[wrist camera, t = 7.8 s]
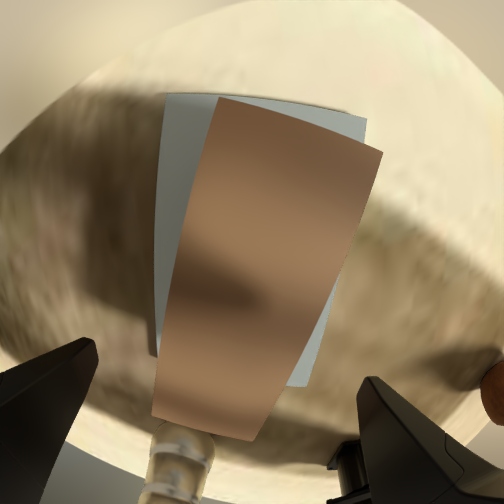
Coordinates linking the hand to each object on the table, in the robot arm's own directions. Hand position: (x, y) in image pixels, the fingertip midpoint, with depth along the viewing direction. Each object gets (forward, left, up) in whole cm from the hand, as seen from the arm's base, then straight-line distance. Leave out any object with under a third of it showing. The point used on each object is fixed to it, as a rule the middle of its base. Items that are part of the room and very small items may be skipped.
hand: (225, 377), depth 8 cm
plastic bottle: (-20, +4, -11) cm, 24 cm away
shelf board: (0, 0, -6) cm, 6 cm away
